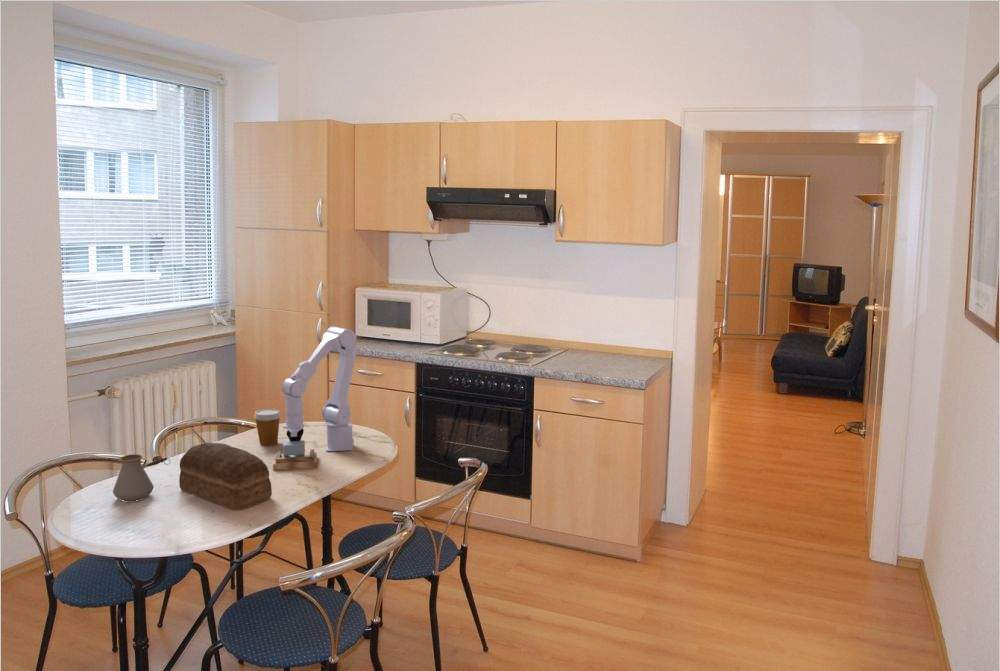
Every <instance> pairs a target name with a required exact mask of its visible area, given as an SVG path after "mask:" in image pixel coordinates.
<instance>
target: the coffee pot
mask: <svg viewBox="0 0 1000 671" xmlns="http://www.w3.org/2000/svg"><path fill="white" fill-rule="evenodd" d="M142 459H143V456H142V455H141V454H135V453H134V454H128V455H123V456H121V457H119V461H120V463H121V468H120V471H119V473H118V475H117V476H118V477H117V479H116V481H115V484H114V486H113V489H112V493H113V495H114V497H115V498H117V499H119V500H120V499H121V500H124V501H136V500H141V499H143V498H145V497H147V498H148V496H149V495H151V493H153V489H154V483H153V482H152V481H151V480H152V479H150V477H149V475H148V474H147V472H146V470H145V468H148V467H149V468H150V467H152V466H156V465H158V464H160V463H163V464H164V465H170V464H171V462H169V463H166V461H167V460H169V461H171V459H170V458H168V457H163V458H162V457H161V458H160V459H157V460H154V461H151V462H149V463H147V464H144V465H143V464H142V463H141V461H142ZM145 499H146V498H145ZM121 500H120V501H121ZM143 500H144V499H143ZM141 501H142V500H141ZM136 502H137V501H136Z"/></svg>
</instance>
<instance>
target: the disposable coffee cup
mask: <svg viewBox="0 0 1000 671" xmlns="http://www.w3.org/2000/svg"><path fill="white" fill-rule="evenodd" d="M281 415H282V414H281V412H280V409H275V408H264V409H259V410H256V411H255V412H254V415H253V418H254V420H255V423H256V424H255V425H256V430H257V434H258V435H257V436H258V441H259V445H260V446H264V447H267V446H274V445H277V444H278V439H279V428H280V418H281Z"/></svg>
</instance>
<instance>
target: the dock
mask: <svg viewBox="0 0 1000 671" xmlns="http://www.w3.org/2000/svg"><path fill="white" fill-rule="evenodd" d="M317 458H318V452H317V451H315V449H311V448H310V452H309V451H308V452H307V451H305V454H304V457H299V455H289V457H287V458H284V456H283V453H282V451H281V450H277V452H276V453H275V455H274V460H273V462H272V463H273V464H272V468H273V471H281V469H284V470H300V468H301V469H302V470H303V469H317V460H318V459H317ZM298 468H299V469H298Z"/></svg>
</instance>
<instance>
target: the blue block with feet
mask: <svg viewBox="0 0 1000 671" xmlns="http://www.w3.org/2000/svg"><path fill="white" fill-rule="evenodd" d="M305 444H306V442H305V440H301V441H290V440H288V441H287V440H286V441H283V443H282V454H283V456H284V458H287V457H289V455H299V457H304V454H305V453H306V445H305Z"/></svg>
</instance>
